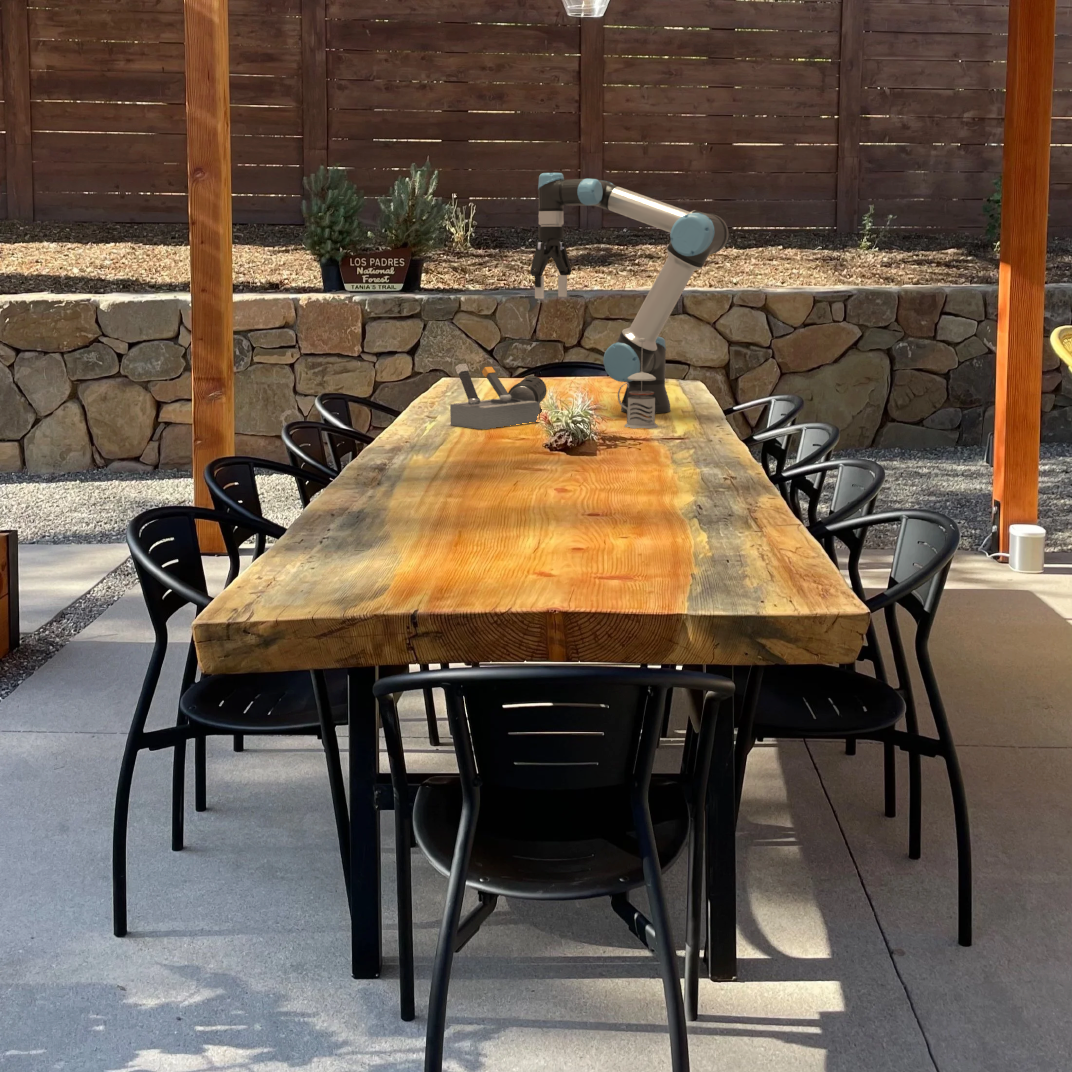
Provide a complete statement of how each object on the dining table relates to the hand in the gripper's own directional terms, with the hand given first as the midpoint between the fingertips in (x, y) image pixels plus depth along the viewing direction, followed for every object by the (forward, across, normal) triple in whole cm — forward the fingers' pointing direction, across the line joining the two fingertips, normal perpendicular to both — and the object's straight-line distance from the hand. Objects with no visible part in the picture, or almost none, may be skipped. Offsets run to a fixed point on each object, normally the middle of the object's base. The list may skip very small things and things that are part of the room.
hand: (551, 297), depth 414 cm
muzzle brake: (+35, +6, -5) cm, 36 cm away
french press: (+35, +17, +39) cm, 55 cm away
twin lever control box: (+35, +33, +1) cm, 48 cm away
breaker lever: (+28, +29, +2) cm, 40 cm away
